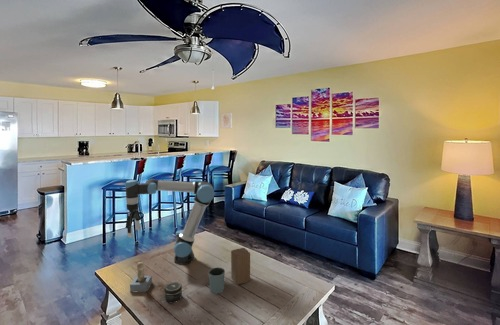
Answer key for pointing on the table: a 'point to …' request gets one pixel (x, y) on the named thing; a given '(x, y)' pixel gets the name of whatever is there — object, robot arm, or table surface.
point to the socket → (140, 284)
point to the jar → (173, 291)
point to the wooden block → (240, 266)
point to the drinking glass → (216, 280)
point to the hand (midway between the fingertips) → (134, 233)
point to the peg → (140, 272)
